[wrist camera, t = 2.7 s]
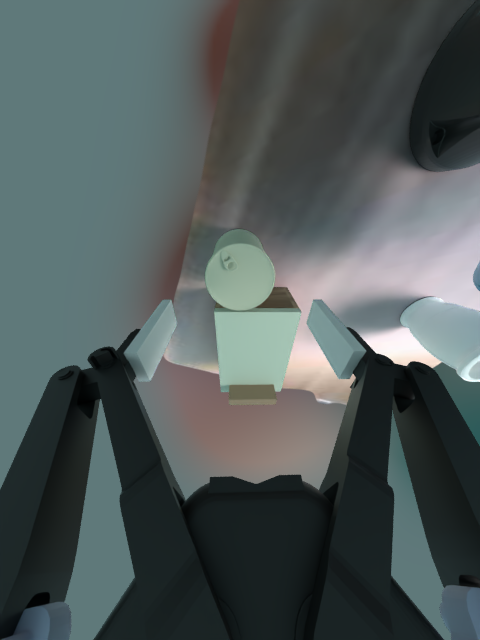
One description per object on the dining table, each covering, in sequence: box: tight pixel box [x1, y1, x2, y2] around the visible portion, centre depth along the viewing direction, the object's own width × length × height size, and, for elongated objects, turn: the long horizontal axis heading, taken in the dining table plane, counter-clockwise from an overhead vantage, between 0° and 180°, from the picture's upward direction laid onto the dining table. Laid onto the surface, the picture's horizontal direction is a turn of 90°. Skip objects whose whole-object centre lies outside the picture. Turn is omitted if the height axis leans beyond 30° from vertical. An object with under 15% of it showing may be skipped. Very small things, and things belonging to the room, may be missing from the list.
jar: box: [400, 297, 480, 382], centre depth 33 cm, size 11×10×15 cm
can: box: [205, 229, 275, 311], centre depth 27 cm, size 9×9×12 cm
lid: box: [214, 308, 301, 405], centre depth 33 cm, size 22×14×5 cm, turn 179°
